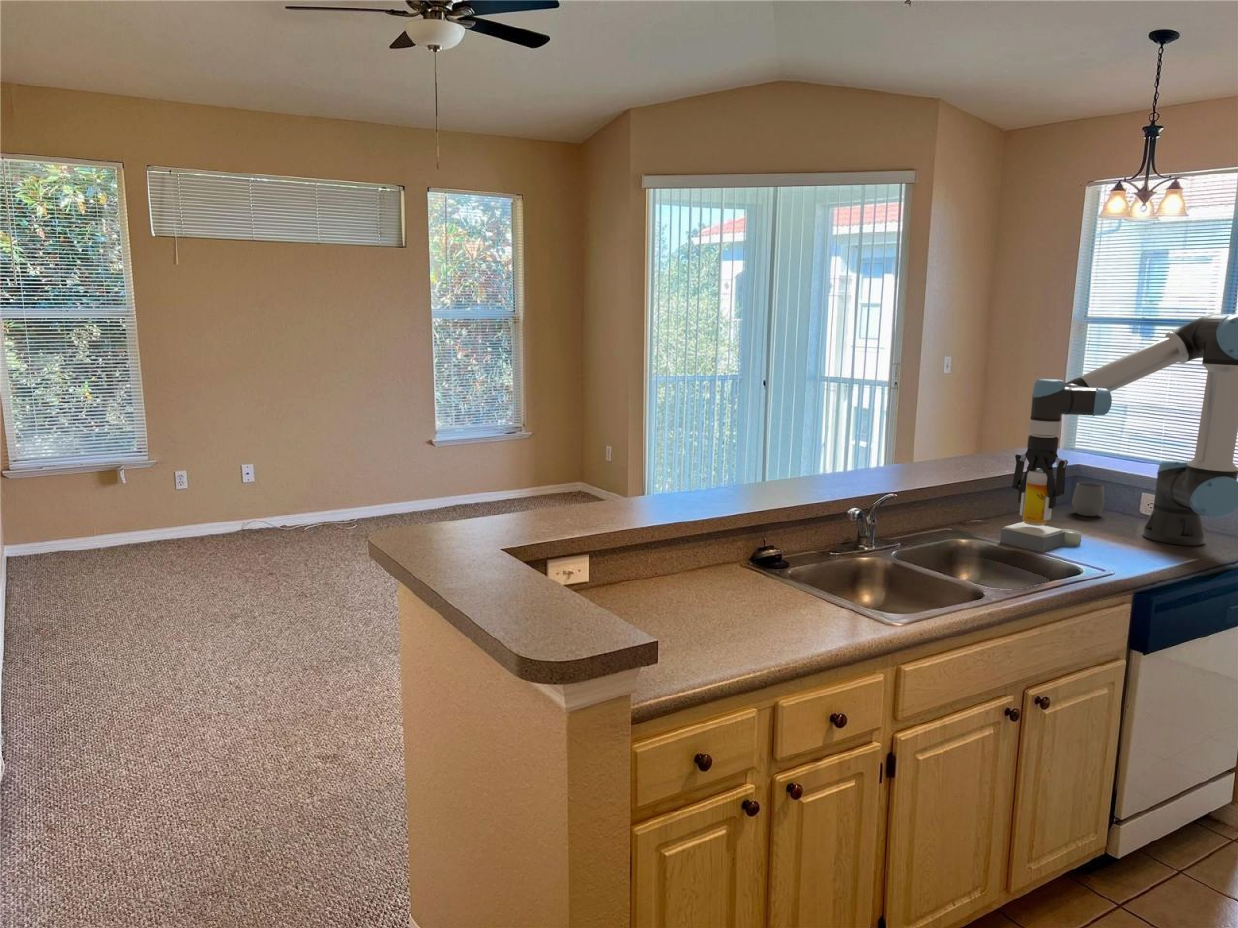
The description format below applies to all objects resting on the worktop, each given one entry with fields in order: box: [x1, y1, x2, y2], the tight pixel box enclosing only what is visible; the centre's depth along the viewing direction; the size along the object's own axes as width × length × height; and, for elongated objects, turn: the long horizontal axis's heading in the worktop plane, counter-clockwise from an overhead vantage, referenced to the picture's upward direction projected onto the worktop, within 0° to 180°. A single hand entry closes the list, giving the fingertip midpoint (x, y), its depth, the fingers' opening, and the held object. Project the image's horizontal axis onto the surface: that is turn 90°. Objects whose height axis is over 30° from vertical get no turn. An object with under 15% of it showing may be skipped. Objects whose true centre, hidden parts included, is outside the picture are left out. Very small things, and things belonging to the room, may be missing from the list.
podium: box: [999, 521, 1065, 553], centre depth 237 cm, size 12×12×5 cm
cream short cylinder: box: [1062, 528, 1083, 547], centre depth 238 cm, size 6×6×4 cm
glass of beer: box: [1022, 469, 1049, 526], centre depth 235 cm, size 6×6×15 cm
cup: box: [1071, 481, 1105, 517], centre depth 274 cm, size 10×9×10 cm
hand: (1034, 516), depth 236 cm, fingers closed on glass of beer, 6 cm apart
